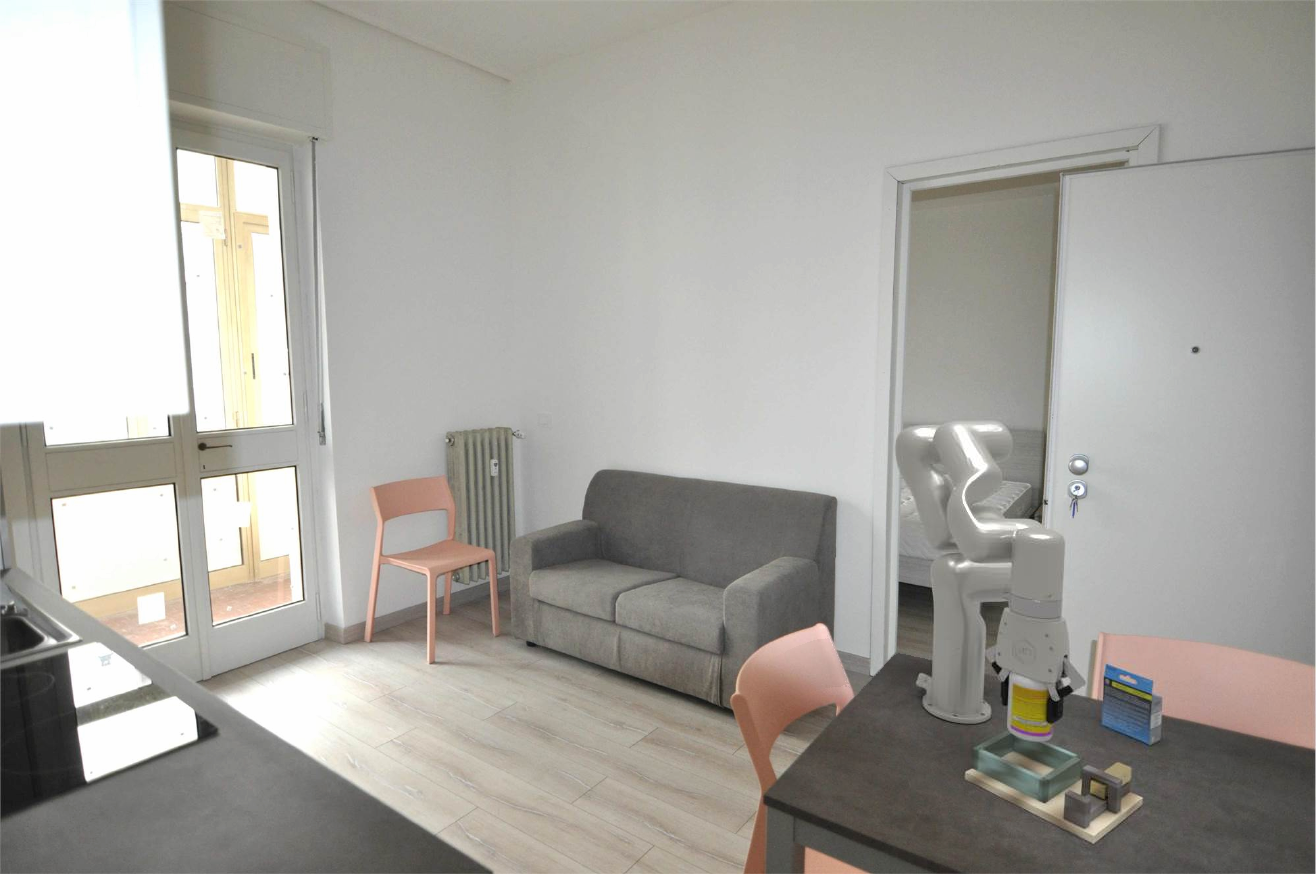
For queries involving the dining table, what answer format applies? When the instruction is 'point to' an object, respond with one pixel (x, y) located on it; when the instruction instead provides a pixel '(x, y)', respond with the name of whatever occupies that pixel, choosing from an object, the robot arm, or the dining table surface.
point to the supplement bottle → (1028, 709)
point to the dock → (1051, 785)
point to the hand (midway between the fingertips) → (1030, 711)
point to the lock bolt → (1115, 770)
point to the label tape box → (1131, 705)
